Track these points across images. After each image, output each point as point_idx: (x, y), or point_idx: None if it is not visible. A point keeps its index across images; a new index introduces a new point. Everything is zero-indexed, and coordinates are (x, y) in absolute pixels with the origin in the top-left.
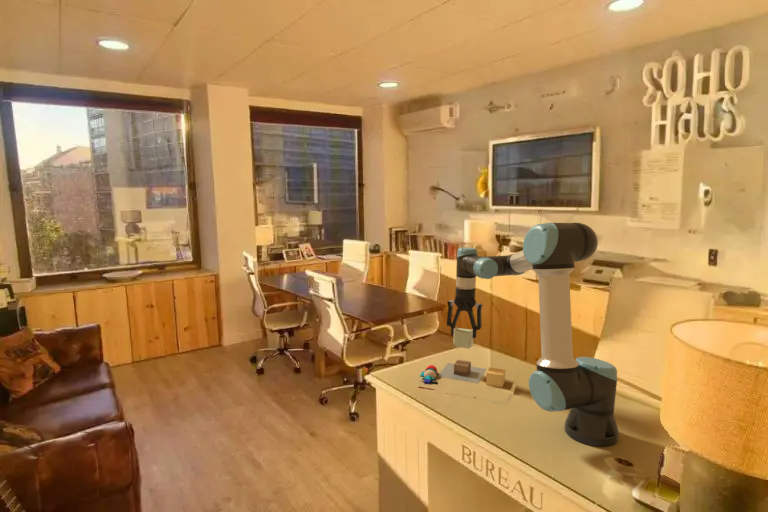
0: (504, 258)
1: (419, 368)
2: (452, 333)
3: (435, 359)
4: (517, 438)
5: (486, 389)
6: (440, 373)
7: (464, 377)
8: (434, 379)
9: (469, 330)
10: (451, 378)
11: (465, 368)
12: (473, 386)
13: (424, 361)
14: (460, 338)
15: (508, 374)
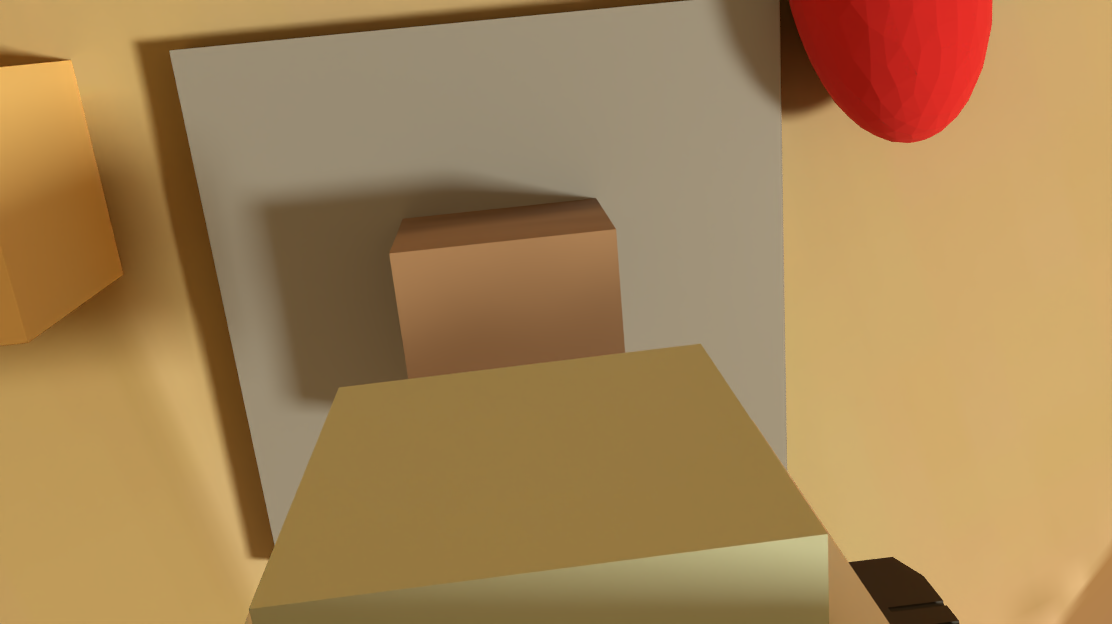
0: None
1: (1084, 235)
2: (888, 594)
3: (970, 602)
4: None
5: (39, 7)
6: (768, 123)
7: (419, 158)
8: None
9: None
10: (569, 26)
11: (425, 241)
12: (236, 16)
13: (1080, 479)
14: (575, 459)
15: (21, 621)
